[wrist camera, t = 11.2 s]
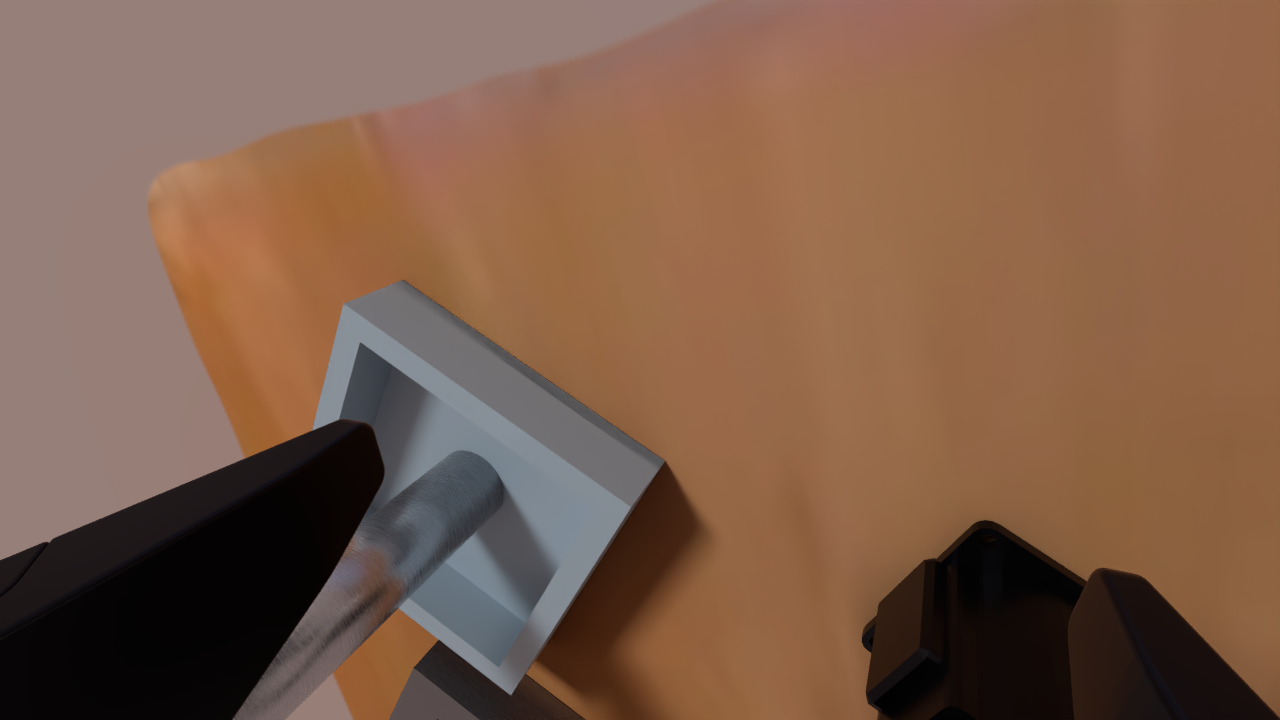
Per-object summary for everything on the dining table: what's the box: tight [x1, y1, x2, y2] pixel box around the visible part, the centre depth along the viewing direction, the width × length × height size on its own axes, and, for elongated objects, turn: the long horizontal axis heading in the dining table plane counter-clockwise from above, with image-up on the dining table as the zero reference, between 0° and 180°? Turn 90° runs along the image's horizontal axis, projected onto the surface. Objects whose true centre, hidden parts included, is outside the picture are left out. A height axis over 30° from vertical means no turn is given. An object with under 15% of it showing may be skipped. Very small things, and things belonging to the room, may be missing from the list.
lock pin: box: [233, 450, 504, 720], centre depth 23 cm, size 3×3×13 cm
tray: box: [312, 280, 665, 695], centre depth 27 cm, size 12×12×3 cm
